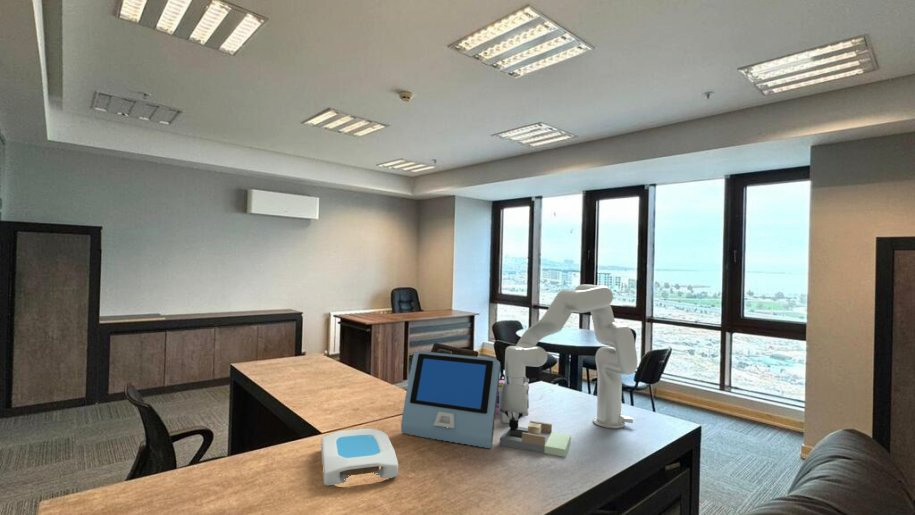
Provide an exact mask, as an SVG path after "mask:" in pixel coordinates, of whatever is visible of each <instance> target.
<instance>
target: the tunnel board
mask: <svg viewBox="0 0 915 515" xmlns="http://www.w3.org/2000/svg"><path fill="white" fill-rule="evenodd" d="M530 423H536V424H541V435H536V434H530V433H528V427H522V426H518V429H516V431H511V428H510V427H509V426H508V427H507V429H506V430H505V431H504V432H503V434H502V435H500V437H499V446H503V447H509V448H513V449H514V448H515V449H520V450H524V451H530V452H536V453H540V454H541V453H542V454H547V455H552V456H553V455H554V456H559V457H563V458H565V457H566V456H567V453H568V450H569V448H570V446H571V442H572V435H571V434H566V433H560V432H559V433H558V432H553V431H552V429H553V425H552V424H553V423H548V422H541V421H534V420H530V421H529V424H530Z"/></svg>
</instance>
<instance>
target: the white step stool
mask: <svg viewBox="0 0 915 515" xmlns="http://www.w3.org/2000/svg"><path fill="white" fill-rule="evenodd" d="M320 439H321V441H320V442H321V443H320V448H321V452H320V453H321V454H322V455H321V454H320V455H321V464H322V463H323V467H324V475H323V474H322V478H323V485H325V486H329V485H335V484H340V483H344V482H346V481H345V480H346V478H348V477H349V476H351V475H349V476H348V475H346V474H341V472H345V471H348V470H355V469H356V470H358V469H364V468H365V469H366V468H372V467H378V466H381V469H380V470H379V469H377V470H378V471H376V470H373V471H374V474H375V473H378V474H376V475H380V477H381V478H391V479H393V478H395V477H397V476H398V475H399V461H398V459H397V455H396V454H397V453H396V451H395V448H394V446H393V445H392V444H393V443H391V440H390V437H389V436H388V434H387V433H385V432H384V431H382V430H380V429H374V428H370V427H369V428H359V429H348V430H337V431H335V432H332V433H329V434H327V435H324V436H321V438H320ZM371 472H372V471H371ZM372 473H373V472H372ZM344 479H345V480H344Z"/></svg>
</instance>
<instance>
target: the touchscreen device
mask: <svg viewBox="0 0 915 515" xmlns="http://www.w3.org/2000/svg"><path fill="white" fill-rule="evenodd" d="M501 368H502V367H501V362H500V361H499V360H497V359H496V358H492V357H483V356H481V357H480V356H474V355H473V356H472V355H461V354H454V353H453V354H452V353H451V354H450V353H444V352H443V353H440V352H432V351H423V350H422V351H420V350H418V351H416V352H414V354H413V356H412V361H411V365H410V372H409V376H408V382H407V386H406V392H405V399H404V405H403V408H402V409H403V410H402V417H401V423H400V424H401V425H400V428H401V430H400V431H401V432H400V433H402V434H404V433H406V434H405V435H407V434H411V435H410V436H413V435H416V436H415V437H418V436H420V437H419V438H424V437H425V438H424V439H429V438H431V439H430V440H435V439H437V440H436V441H441V440H443V441H442V442H446V441H449V442H448V443H452V442H455V443H454V444H458V443H461V444H460V445H464V444H467V445H466V446H470V445H473V446H472V447H476V446H478V448H483V447H484V449H492V448H493V439H494V430H495V429H494V428H495V421H496V414H497V413H496V405H497V396H498V387H499V379H501V378H500V377H501ZM447 427H448V428H447Z"/></svg>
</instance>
